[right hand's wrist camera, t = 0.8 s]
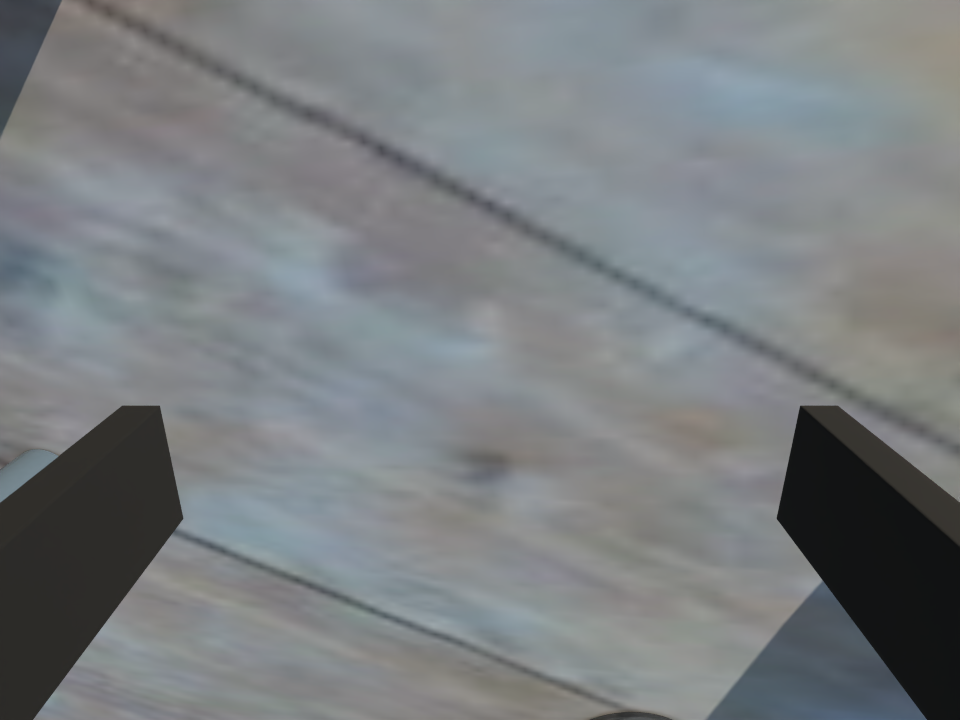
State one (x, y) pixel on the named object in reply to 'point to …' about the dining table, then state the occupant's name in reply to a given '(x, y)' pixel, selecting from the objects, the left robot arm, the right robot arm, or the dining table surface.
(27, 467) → the bottle
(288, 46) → the dining table surface
